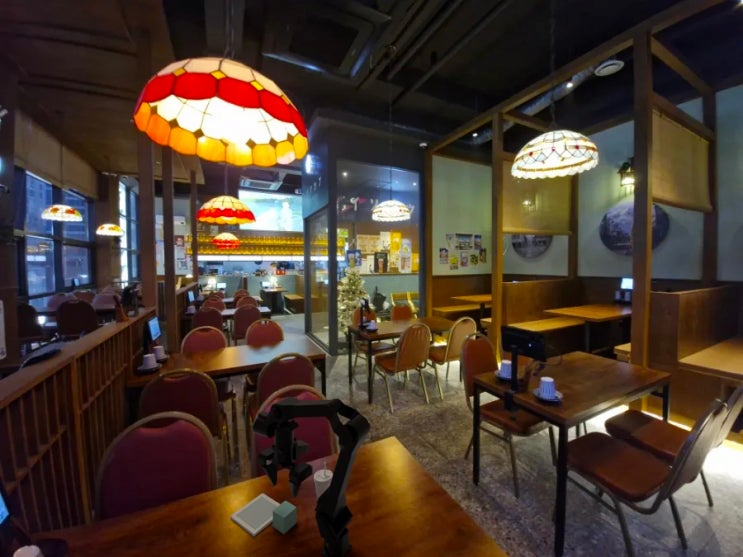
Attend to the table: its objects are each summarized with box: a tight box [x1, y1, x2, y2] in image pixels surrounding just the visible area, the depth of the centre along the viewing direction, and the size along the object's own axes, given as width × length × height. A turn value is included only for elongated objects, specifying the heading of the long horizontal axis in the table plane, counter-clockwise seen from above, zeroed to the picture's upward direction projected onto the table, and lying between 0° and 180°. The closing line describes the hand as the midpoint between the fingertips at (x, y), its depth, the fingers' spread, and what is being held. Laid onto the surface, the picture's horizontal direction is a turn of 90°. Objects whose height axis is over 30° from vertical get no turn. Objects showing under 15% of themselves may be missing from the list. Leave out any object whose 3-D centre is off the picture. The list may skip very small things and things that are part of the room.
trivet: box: [229, 492, 282, 537], centre depth 100 cm, size 12×12×1 cm
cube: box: [272, 500, 298, 535], centre depth 96 cm, size 5×5×5 cm
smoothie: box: [313, 461, 334, 501], centre depth 105 cm, size 6×6×14 cm
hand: (284, 491), depth 96 cm, fingers open, 9 cm apart
